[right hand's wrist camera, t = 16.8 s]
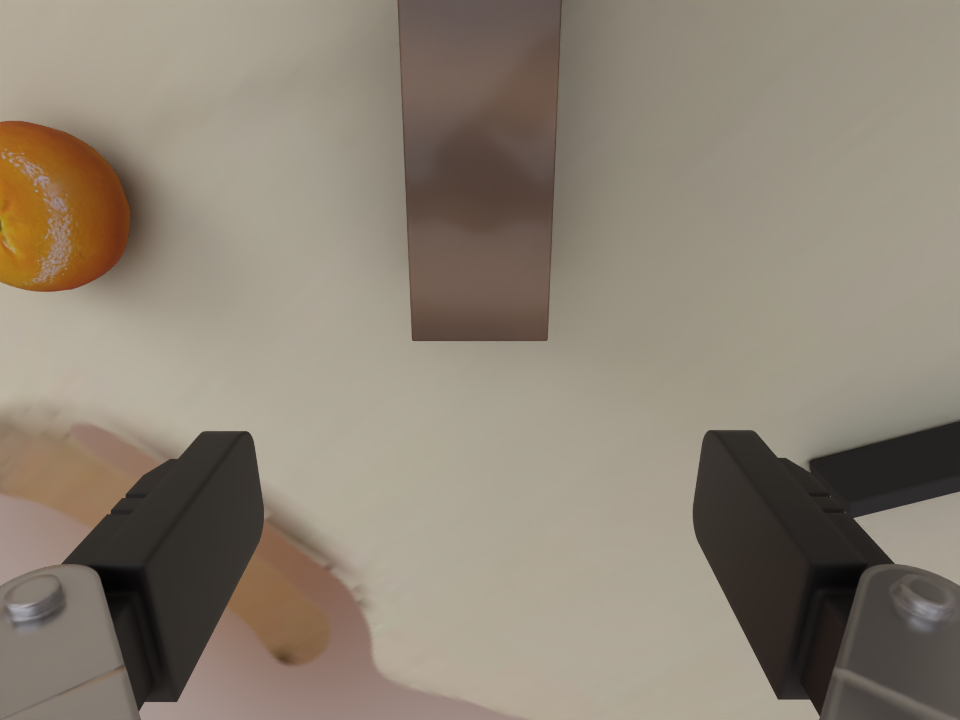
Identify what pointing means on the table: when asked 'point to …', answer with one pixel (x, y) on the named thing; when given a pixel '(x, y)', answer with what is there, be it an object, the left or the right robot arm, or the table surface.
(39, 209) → the fruit
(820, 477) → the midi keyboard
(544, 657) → the table surface
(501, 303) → the box
